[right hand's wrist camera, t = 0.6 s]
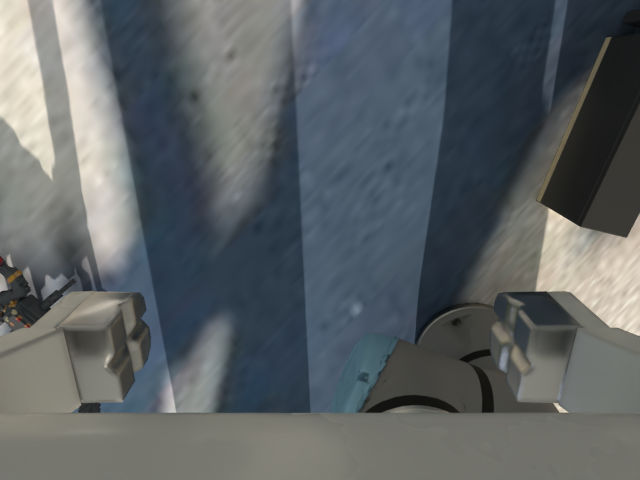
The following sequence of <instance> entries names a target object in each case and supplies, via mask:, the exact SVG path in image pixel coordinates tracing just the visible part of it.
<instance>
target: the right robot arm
mask: <svg viewBox="0 0 640 480" xmlns="http://www.w3.org/2000/svg"><path fill="white" fill-rule="evenodd" d="M145 312H146V305H145V301H144V297H143V296H142V294H141V293H140V292H95V291H83V292H70V293H69V294H68V295H66V296H65V297H64V298H63V299H62V300H61V301H60V302H59V303H57V304H56V305H55V306H54V307H53V308H52V309H51V310H49V311H48V312H47V313H46V314H45V315H44V316H43V317H41V318H40V319H39V320H38V321H37V322H36V323H35V324H34V325H32V326H31V327H30V328H21V329H18V330H16V331H13V332H10V333H8V334H5V335H3V336H0V480H640V336H637V335H635V334H632V333H630V332H627V331H624V330H622V329H619V328H610V327H609V326H608V325H607V324H605V323H604V322H603V321H602V320H601V319H600V318H599V317H597V316H596V315H595V314H594V313H593V312H592V311H591V310H590V309H588V308H587V307H586V306H585V305H584V304H583V303H582V302H580V301H579V300H578V299H577V298H576V297H575V296H574V295H573V294H571V293H570V292H566V291H555V292H546V291H544V292H503V293H499V294H498V295H497V298H496V300H495V305H494V312H495V313H496V315H497V316H498V318H499V319H498V320H497V321H496V322H495V323H494V324H493V325H492V326H491V329H490V337H489V344H490V352H491V356H492V359H493V361H494V363H495V365H496V366H497V368H499V369H500V370H502V371H504V372H505V373H506V378H505V382H506V383H507V385H508V387H509V388H510V390H511V392H512V393H513V395H514V396H515V398H516V400H517V401H518V402H536V403H559V406H561V407H562V408H564V409H565V410H566V411H568V412H569V413H71V412H72V411H74V410H75V409H77V408H78V407H79V406H81V403H103V402H123V400H124V398H125V397H126V395H127V393H128V392H129V390H130V388H131V387H132V385H133V383H134V382H135V378H134V373H135V372H136V371H138V370H140V369H141V368H143V366H144V365H145V363H146V361H147V359H148V355H149V351H150V347H151V336H150V329H149V326H148V325H147V324H146V323H145V322H144V321H143V320H142V319H141V318H142V316H143V315H144V313H145Z"/></svg>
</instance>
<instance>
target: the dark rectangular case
mask: <svg viewBox="0 0 640 480" xmlns="http://www.w3.org/2000/svg"><path fill="white" fill-rule="evenodd" d="M536 201H538V202H539V203H542V204H543V205H545V206H547V207H548V208H550V209H552V210H553V211H555V212H557V213H558V214H560V215H562V216H563V217H565V218H567V219H568V220H570V221H572V222H573V223H575V224H577V225H578V226H580V227H583V228H587V229H591V230H595V231H600V232H604V233H608V234H612V235H617V236H621V237H625V238H627V236H628V234H629V232H630V230H631V228H632V226H633V225H634V223H635V221H636V219H637V217H638V215H639V213H640V34H636V35H627V36H618V37H607V38H606V39H605V41H604V44H603V46H602V48H601V51H600V53H599V55H598V58H597V60H596V62H595V65H594V67H593V69H592V72H591V74H590V76H589V79H588V81H587V83H586V86H585V88H584V90H583V93H582V95H581V97H580V100H579V102H578V104H577V107H576V109H575V111H574V114H573V116H572V118H571V121H570V123H569V125H568V128H567V130H566V132H565V135H564V137H563V139H562V142H561V144H560V146H559V149H558V151H557V153H556V156H555V158H554V160H553V163H552V165H551V167H550V170H549V172H548V174H547V177H546V179H545V181H544V184H543V186H542V188H541V191H540V193H539V195H538V198H537V200H536Z"/></svg>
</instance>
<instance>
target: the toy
mask: <svg viewBox="0 0 640 480" xmlns="http://www.w3.org/2000/svg"><path fill="white" fill-rule="evenodd" d="M5 262H6V261H5V260H4V259H3V258H2V257H0V273H1V274H2V275H3V276H4V277H5V278H6V279H7V281H8V283H9V284H10V286H11V287H12V289H11V290H7V291H1V292H0V325H2V324H3V323H4V322H6V323H7V324H8V326H9V327H10V328H11V329H12V331H10V332H13V331H16V330H18V329H21V328H30V327H31V326H32V325H34V324H35V323H36V322H37V321H38V320H39V319H40V318H41V317H43V316H44V315H45V314H46V313H47V312H48V311H49V310H51V308H50V306H52V305H53V304H54V303H55V302H56V301H58V300H59V299H60V298H61V297H62V296H63V295H62V293H64V292H65V291H66V290H67V289H68V288H69V287H71V286H72V285H73V284H74V283H75V282H76V281H75V280H74V279H72V280H71V281H70V282H69V283H67V284H66V285H65V286H64V287H63V288H61V289H60V290H59V291H58V290H56V291H54V292H53V293H52V294H51V295H50V296H48V297H47V298H46V299H45V300H44V301H42V300H38V299H37V298H36V297H35V296H33V295H29V296H28V297H23V296H25V295H26V294H27V293H29V292H30V291H31V290H30V287H29V286H28V282H27V281H26V280H25V278H24V277H23V275H22V272H21V271H20V270H18V269H17V268H16V267H14V268H13V267H9V266H8V265H7V264H6V263H5ZM100 405H101V404H100V403H81V406H79V407H80V408H79V410H78V412H79V413H100Z"/></svg>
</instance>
